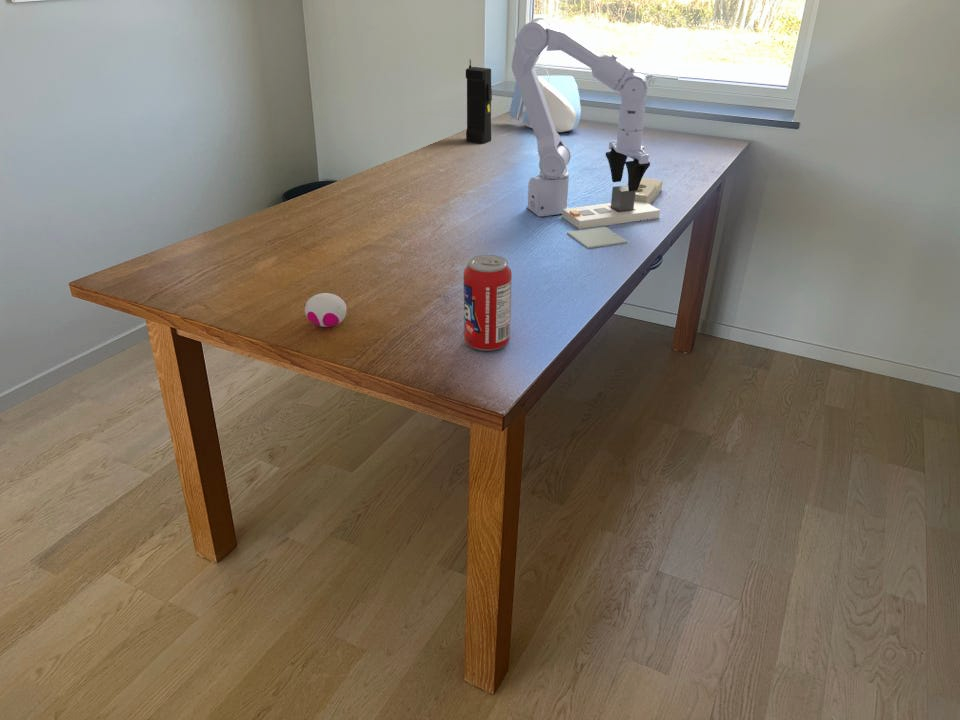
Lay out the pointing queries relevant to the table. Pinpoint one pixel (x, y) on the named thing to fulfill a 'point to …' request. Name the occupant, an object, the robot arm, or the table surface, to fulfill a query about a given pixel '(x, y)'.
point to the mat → (596, 237)
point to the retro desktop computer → (553, 102)
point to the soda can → (487, 302)
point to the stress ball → (325, 309)
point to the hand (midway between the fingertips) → (624, 186)
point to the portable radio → (478, 104)
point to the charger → (622, 199)
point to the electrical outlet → (648, 190)
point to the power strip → (608, 215)
